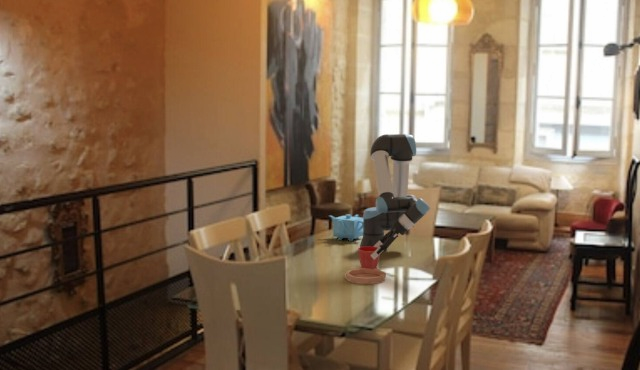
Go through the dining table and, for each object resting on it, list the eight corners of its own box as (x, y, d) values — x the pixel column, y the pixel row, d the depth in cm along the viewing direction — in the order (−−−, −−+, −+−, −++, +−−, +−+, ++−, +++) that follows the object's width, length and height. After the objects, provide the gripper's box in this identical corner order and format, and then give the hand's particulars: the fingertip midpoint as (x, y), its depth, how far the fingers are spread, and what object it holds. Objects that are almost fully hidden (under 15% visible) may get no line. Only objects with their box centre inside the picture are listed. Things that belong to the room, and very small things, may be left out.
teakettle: (367, 241, 399) (367, 216, 397) (337, 242, 394) (337, 217, 392) (357, 235, 417) (357, 211, 415) (328, 236, 412) (328, 212, 411)
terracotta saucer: (372, 272, 328) (372, 266, 328) (392, 281, 312) (392, 275, 312) (339, 276, 321) (339, 270, 320) (357, 286, 304) (358, 280, 304)
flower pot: (378, 270, 331) (379, 251, 330) (356, 269, 333) (356, 250, 332) (381, 265, 342) (381, 246, 340) (359, 264, 344) (359, 245, 343)
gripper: (410, 235, 320) (378, 265, 323) (407, 225, 345) (377, 254, 348) (398, 223, 320) (366, 254, 323) (396, 215, 345) (367, 243, 348)
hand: (372, 254), depth 335 cm, fingers open, 13 cm apart
